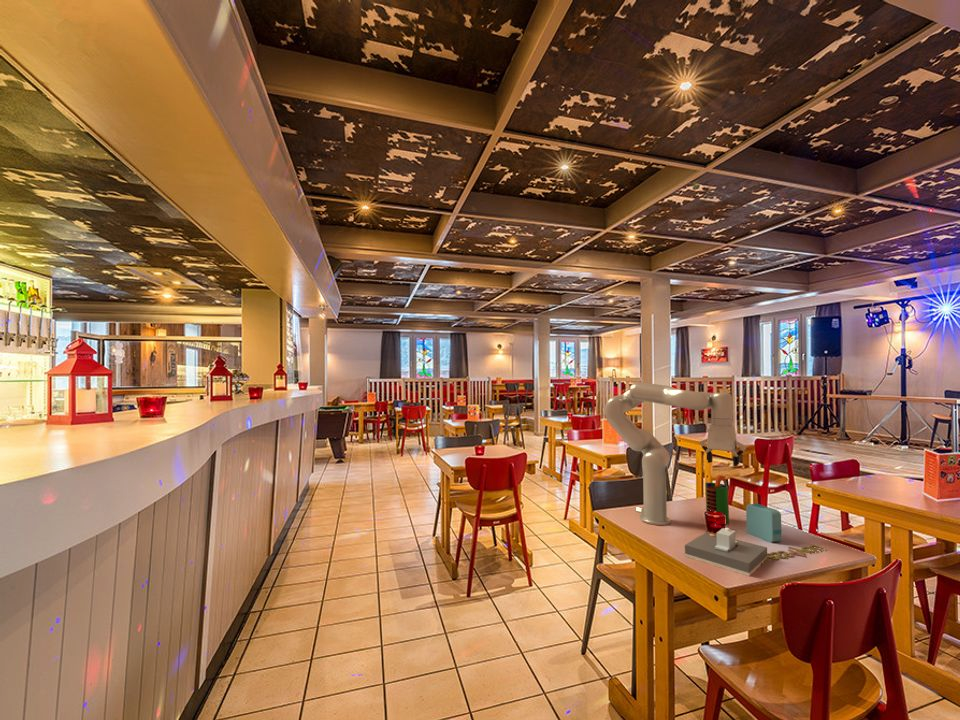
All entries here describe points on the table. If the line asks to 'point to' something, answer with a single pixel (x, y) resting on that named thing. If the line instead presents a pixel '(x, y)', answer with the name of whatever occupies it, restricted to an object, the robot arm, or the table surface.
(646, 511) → the robot arm
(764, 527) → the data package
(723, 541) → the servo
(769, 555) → the text sign
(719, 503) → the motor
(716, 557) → the chassis
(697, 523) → the table surface
